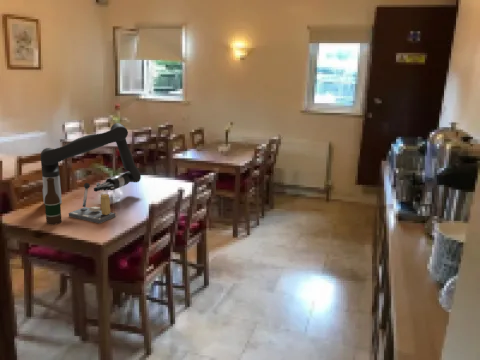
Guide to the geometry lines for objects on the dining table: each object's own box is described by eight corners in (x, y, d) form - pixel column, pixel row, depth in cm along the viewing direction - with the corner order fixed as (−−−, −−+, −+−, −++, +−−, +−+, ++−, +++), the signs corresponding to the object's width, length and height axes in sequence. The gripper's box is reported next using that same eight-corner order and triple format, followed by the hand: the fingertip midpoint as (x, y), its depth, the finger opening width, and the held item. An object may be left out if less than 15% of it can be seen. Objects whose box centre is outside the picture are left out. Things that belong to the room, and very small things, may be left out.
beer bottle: (49, 219, 218) (45, 176, 212) (64, 219, 219) (60, 176, 213) (43, 224, 210) (39, 180, 204) (59, 224, 211) (55, 180, 205)
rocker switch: (89, 210, 224) (89, 207, 224) (94, 209, 228) (95, 206, 228) (94, 211, 223) (94, 208, 223) (100, 210, 227) (100, 207, 227)
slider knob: (100, 214, 221) (99, 195, 219) (105, 212, 225) (104, 193, 222) (106, 215, 220) (105, 196, 217) (111, 213, 223) (110, 194, 221)
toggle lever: (79, 206, 228) (82, 182, 228) (84, 206, 231) (87, 182, 231) (84, 207, 227) (87, 183, 226) (88, 207, 230) (91, 183, 229)
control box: (68, 216, 223) (68, 212, 223) (85, 210, 234) (85, 206, 233) (100, 223, 215) (99, 219, 214) (115, 216, 225) (115, 212, 225)
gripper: (106, 175, 251) (85, 182, 236) (123, 178, 246) (103, 185, 231) (107, 187, 253) (86, 194, 238) (124, 190, 248) (104, 197, 233)
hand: (94, 189), depth 234 cm, fingers closed
